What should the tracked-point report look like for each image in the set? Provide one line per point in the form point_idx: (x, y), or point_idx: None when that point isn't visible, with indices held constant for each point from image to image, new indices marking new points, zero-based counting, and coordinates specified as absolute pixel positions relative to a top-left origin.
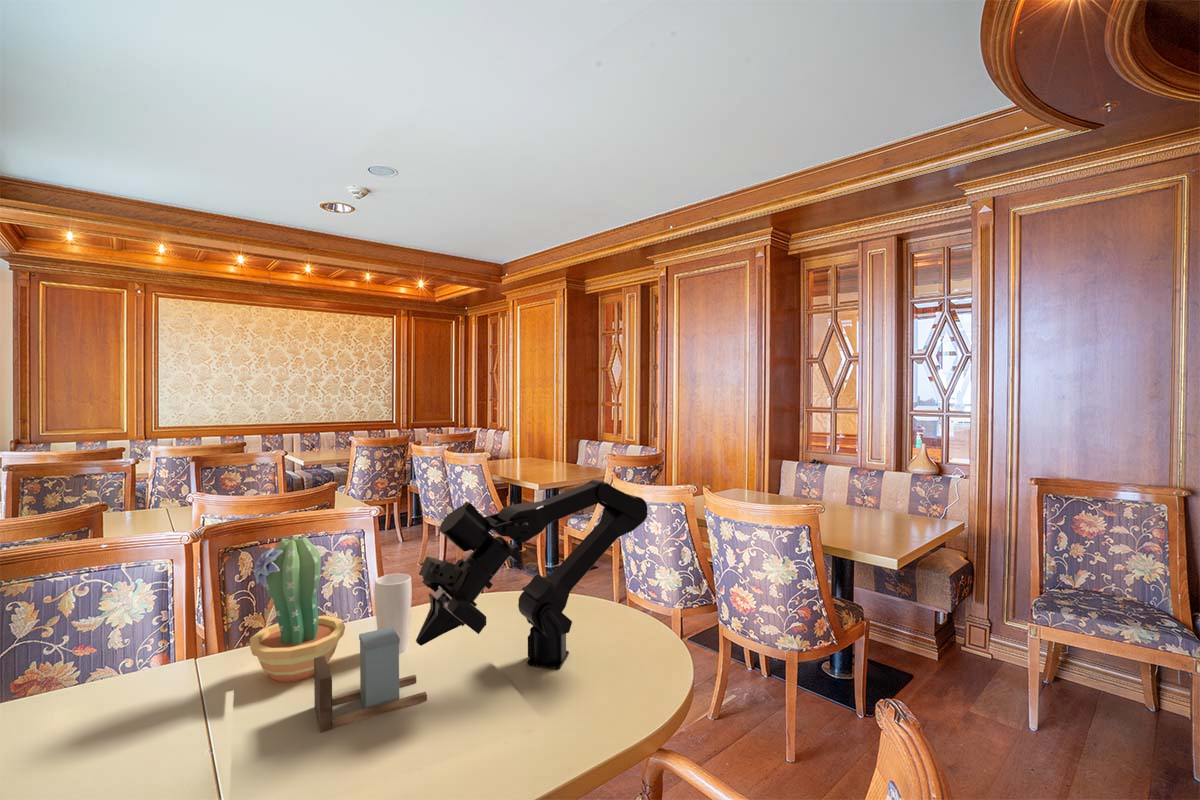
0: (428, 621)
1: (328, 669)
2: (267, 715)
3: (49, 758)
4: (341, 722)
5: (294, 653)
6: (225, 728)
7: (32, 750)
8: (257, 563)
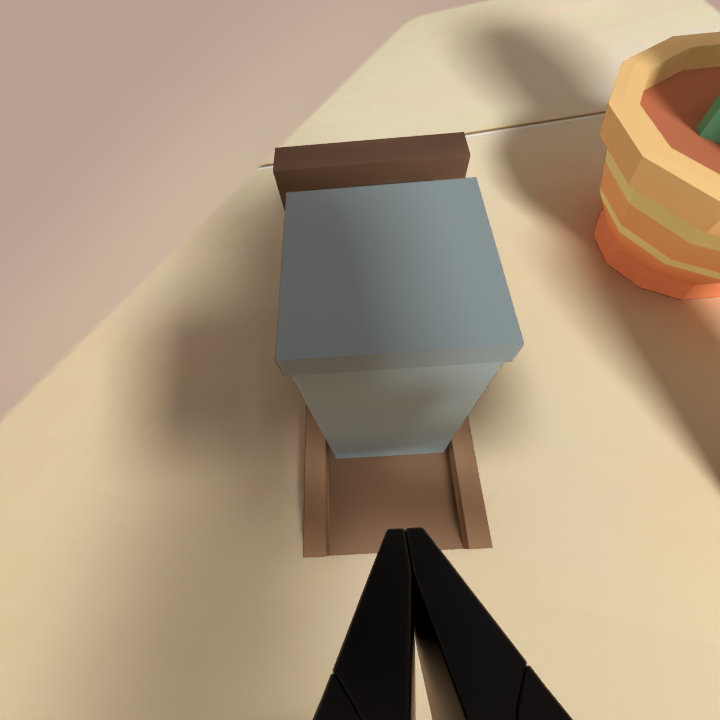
0: (457, 699)
1: (339, 165)
2: None
3: (470, 23)
4: None
5: (610, 126)
6: None
7: (501, 8)
8: None
